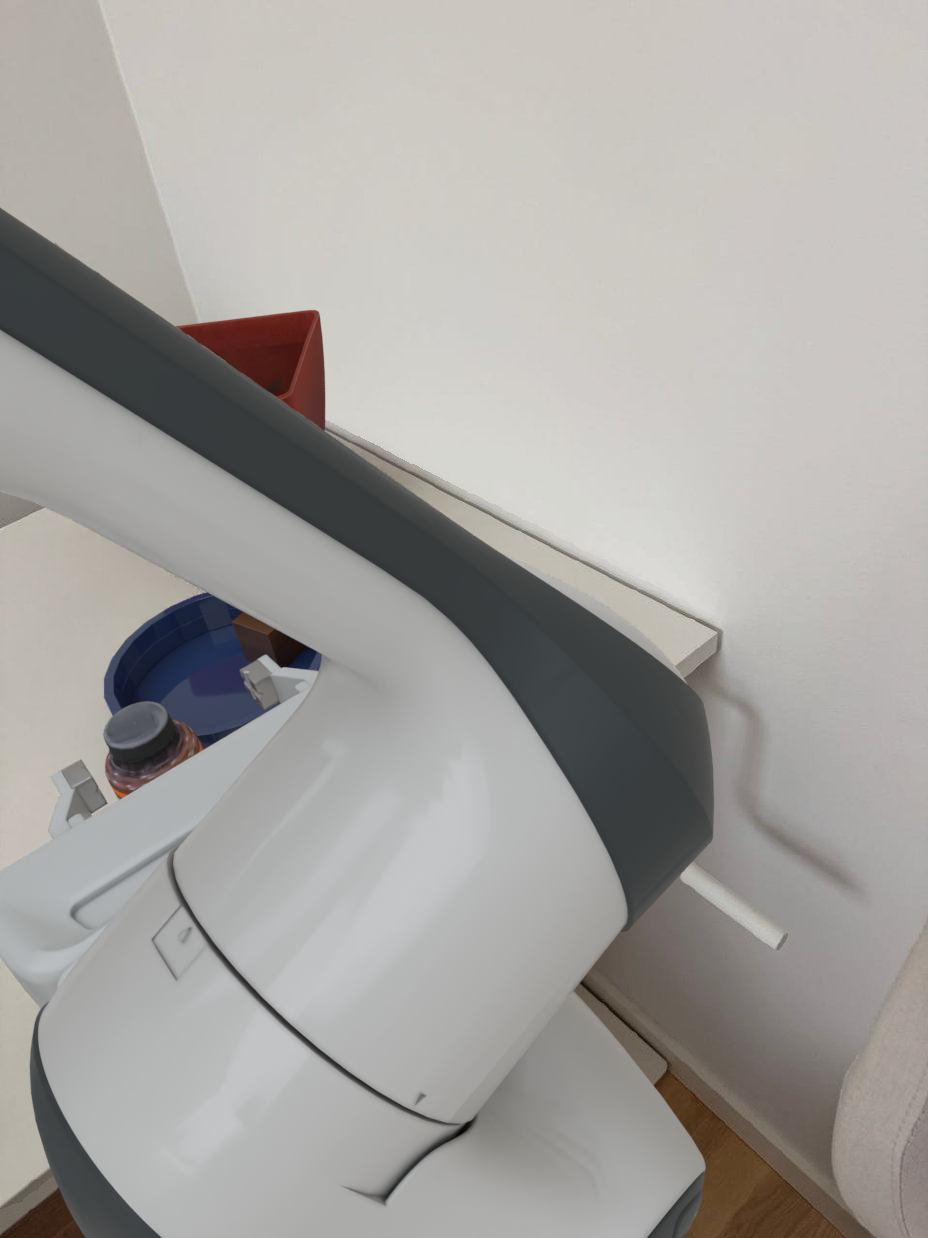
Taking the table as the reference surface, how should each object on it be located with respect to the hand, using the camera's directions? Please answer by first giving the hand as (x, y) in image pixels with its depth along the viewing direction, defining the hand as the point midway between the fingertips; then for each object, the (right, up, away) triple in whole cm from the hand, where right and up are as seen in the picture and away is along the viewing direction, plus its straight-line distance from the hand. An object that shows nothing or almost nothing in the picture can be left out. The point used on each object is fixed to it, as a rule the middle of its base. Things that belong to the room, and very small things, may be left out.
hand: (167, 722), depth 44 cm
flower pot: (-7, +15, +53) cm, 56 cm away
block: (-1, +2, +34) cm, 34 cm away
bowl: (-5, -1, +32) cm, 32 cm away
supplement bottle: (-4, -10, +21) cm, 23 cm away
